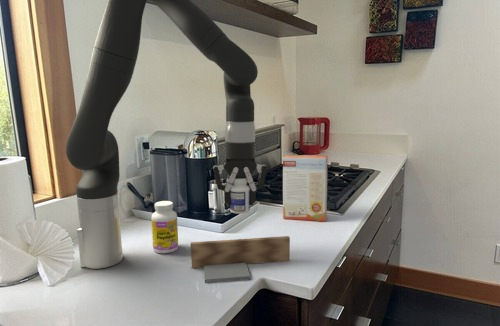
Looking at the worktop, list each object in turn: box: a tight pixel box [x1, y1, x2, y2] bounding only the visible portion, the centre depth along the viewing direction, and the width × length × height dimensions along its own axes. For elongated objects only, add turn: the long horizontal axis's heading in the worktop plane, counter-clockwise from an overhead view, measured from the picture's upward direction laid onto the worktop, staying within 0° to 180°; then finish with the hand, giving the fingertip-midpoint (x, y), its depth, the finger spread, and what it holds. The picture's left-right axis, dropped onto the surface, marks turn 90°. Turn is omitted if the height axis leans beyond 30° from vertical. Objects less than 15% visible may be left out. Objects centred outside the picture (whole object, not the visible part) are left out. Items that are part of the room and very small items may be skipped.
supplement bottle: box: [151, 200, 179, 254], centre depth 100 cm, size 7×7×13 cm
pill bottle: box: [229, 178, 251, 215], centre depth 96 cm, size 5×5×9 cm
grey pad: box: [203, 263, 251, 284], centre depth 87 cm, size 10×7×1 cm
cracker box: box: [282, 154, 328, 222], centre depth 124 cm, size 14×6×21 cm, turn 74°
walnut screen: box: [190, 235, 291, 269], centre depth 91 cm, size 24×1×6 cm, turn 98°
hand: (239, 204), depth 97 cm, fingers closed on pill bottle, 5 cm apart
